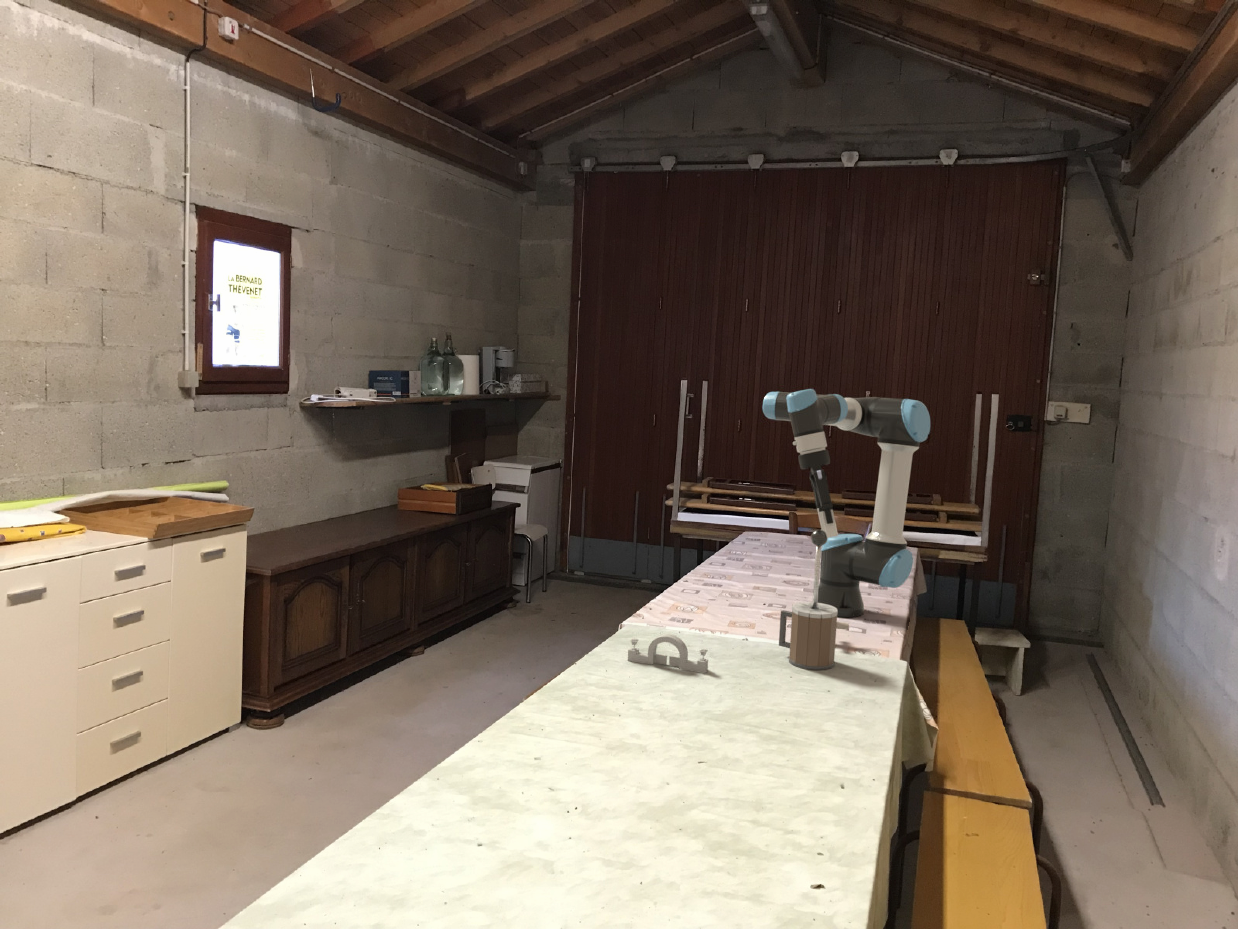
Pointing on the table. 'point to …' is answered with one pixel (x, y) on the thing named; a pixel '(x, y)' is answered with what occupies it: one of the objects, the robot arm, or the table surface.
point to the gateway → (674, 661)
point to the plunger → (817, 561)
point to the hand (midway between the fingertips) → (830, 534)
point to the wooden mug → (810, 635)
